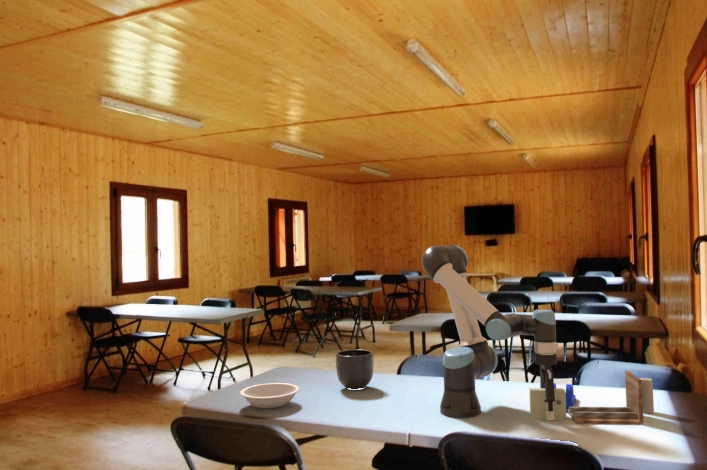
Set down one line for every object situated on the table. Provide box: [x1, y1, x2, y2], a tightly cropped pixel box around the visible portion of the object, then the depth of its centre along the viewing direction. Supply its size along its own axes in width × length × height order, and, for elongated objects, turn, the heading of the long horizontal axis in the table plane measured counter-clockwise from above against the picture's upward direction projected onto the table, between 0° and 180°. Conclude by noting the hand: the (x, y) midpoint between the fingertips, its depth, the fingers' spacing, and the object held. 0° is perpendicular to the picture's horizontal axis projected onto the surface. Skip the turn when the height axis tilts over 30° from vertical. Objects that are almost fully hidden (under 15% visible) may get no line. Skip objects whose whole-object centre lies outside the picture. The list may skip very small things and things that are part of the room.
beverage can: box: [638, 377, 655, 415], centre depth 209 cm, size 5×5×12 cm
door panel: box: [528, 387, 567, 420], centre depth 207 cm, size 12×4×10 cm, turn 81°
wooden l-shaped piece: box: [566, 370, 644, 425], centre depth 204 cm, size 22×14×15 cm, turn 81°
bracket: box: [554, 382, 577, 411], centre depth 223 cm, size 18×8×9 cm, turn 154°
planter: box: [334, 348, 375, 389], centre depth 257 cm, size 17×17×16 cm
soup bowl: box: [239, 382, 300, 409], centre depth 233 cm, size 24×24×7 cm
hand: (548, 416), depth 207 cm, fingers open, 8 cm apart
